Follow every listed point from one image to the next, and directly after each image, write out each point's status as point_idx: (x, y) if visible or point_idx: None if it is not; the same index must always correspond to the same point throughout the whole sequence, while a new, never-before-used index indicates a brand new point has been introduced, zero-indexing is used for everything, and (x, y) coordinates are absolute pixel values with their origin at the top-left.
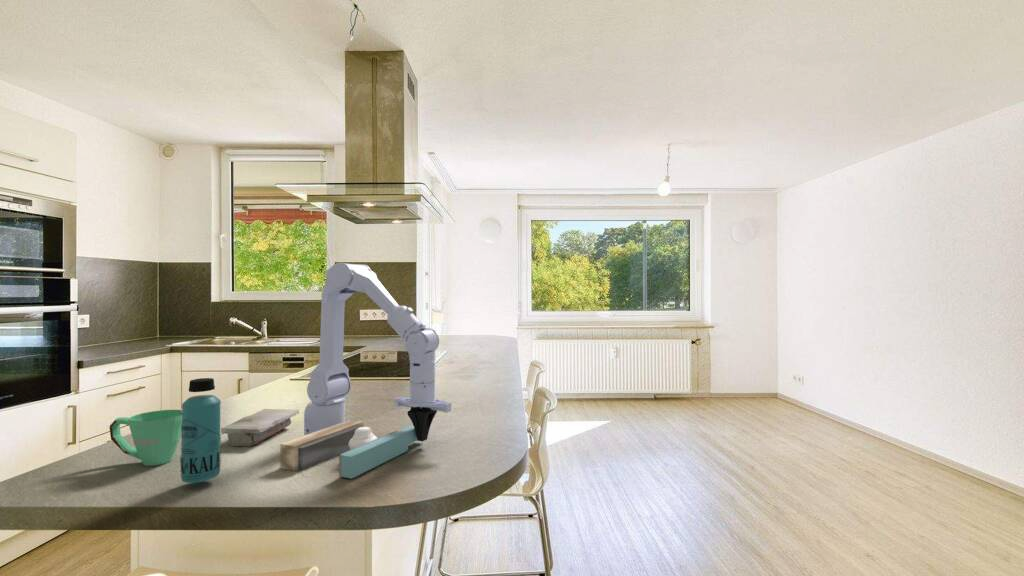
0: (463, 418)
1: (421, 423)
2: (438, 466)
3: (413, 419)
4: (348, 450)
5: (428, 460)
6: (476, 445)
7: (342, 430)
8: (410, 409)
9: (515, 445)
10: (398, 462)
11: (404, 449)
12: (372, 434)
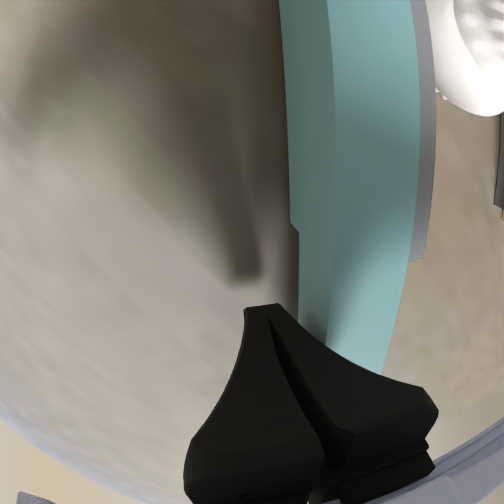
0: None
1: (251, 384)
2: (3, 142)
3: (345, 383)
4: (502, 119)
5: (88, 172)
6: (87, 407)
7: None
8: (426, 445)
9: (20, 428)
10: (218, 56)
11: (294, 192)
12: (476, 36)
